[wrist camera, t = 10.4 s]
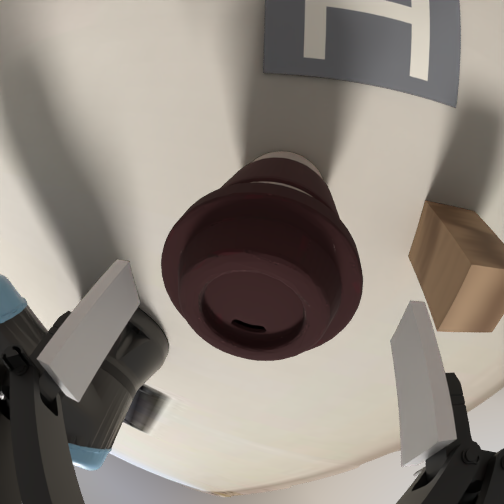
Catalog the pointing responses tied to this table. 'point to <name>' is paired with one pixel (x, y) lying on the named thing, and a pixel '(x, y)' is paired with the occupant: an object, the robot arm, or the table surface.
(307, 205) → the coffee cup
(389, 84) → the letter mat
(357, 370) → the table surface
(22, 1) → the table surface
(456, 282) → the walnut block
